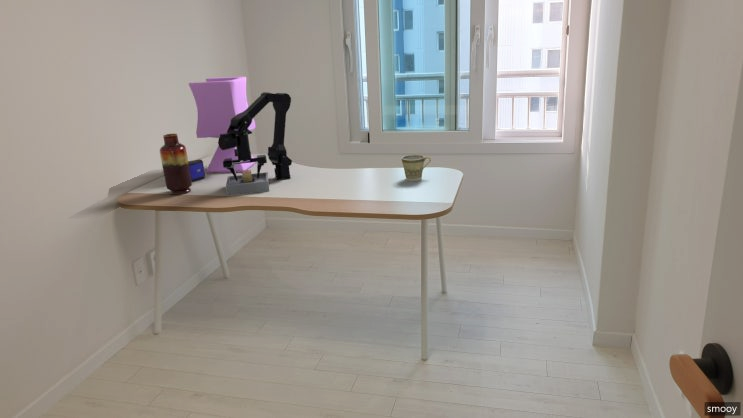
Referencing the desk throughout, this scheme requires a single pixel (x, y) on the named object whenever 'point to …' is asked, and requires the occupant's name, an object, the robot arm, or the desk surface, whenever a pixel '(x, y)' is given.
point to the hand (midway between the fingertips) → (247, 179)
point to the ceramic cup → (414, 166)
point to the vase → (175, 165)
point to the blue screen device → (196, 170)
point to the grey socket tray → (247, 184)
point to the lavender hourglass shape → (220, 115)
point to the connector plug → (247, 176)
